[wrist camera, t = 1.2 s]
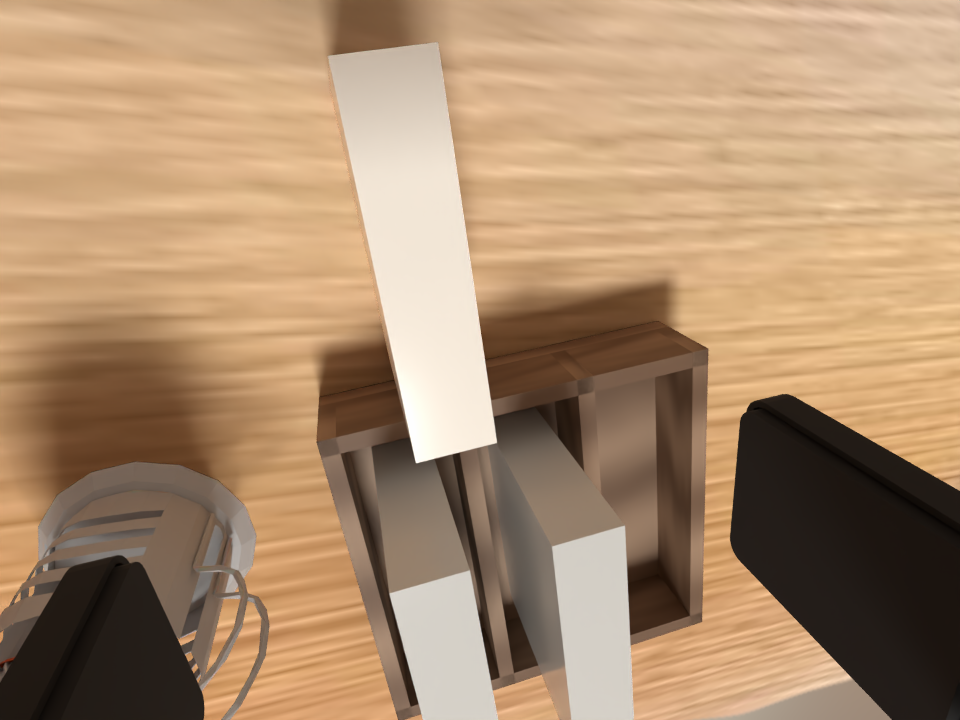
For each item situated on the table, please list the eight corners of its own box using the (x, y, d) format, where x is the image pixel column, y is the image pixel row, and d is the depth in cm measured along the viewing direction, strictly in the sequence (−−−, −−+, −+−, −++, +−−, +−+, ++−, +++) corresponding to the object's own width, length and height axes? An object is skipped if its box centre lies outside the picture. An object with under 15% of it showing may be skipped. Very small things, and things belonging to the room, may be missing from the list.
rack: (319, 397, 27) (316, 442, 23) (658, 321, 30) (708, 348, 26) (391, 652, 34) (398, 721, 30) (661, 569, 37) (702, 621, 33)
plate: (330, 90, 23) (327, 55, 14) (397, 81, 23) (438, 42, 14) (389, 357, 28) (415, 463, 19) (444, 346, 28) (497, 442, 19)
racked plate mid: (483, 419, 29) (552, 546, 20) (534, 407, 29) (624, 525, 20) (510, 594, 33) (576, 761, 24) (554, 580, 34) (634, 740, 25)
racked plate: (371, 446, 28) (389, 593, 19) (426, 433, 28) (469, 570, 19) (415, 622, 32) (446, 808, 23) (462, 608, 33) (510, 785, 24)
